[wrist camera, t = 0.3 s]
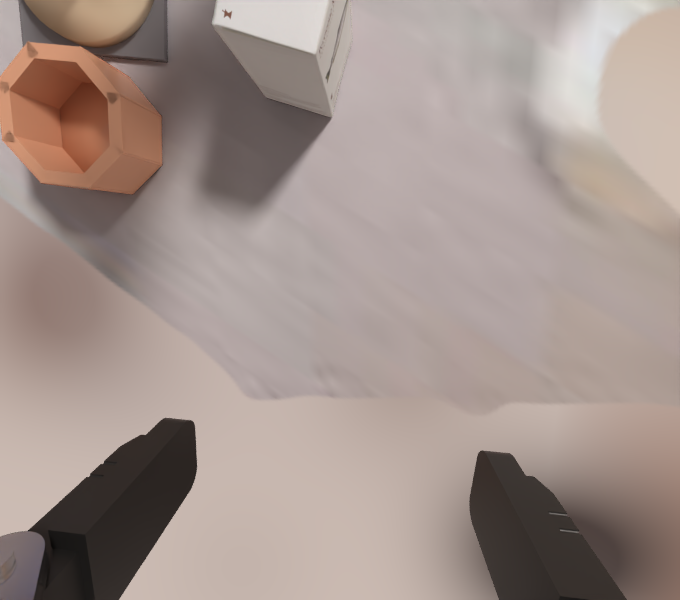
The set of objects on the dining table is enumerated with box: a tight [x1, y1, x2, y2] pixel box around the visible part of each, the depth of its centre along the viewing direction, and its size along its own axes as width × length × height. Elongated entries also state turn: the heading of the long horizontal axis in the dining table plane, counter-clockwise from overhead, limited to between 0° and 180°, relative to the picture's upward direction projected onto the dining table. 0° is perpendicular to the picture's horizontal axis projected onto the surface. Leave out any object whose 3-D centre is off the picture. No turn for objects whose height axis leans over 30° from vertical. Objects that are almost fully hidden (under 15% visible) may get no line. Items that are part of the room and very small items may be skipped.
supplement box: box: [212, 0, 352, 117], centre depth 27 cm, size 7×7×13 cm
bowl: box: [0, 41, 163, 195], centre depth 33 cm, size 12×12×6 cm
